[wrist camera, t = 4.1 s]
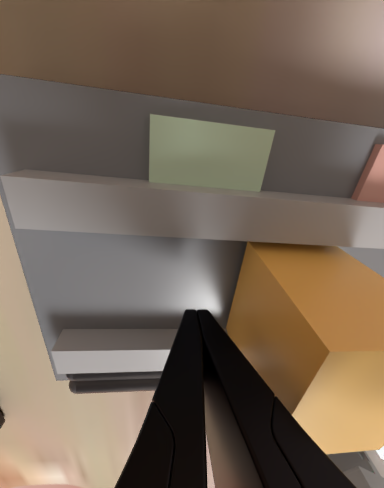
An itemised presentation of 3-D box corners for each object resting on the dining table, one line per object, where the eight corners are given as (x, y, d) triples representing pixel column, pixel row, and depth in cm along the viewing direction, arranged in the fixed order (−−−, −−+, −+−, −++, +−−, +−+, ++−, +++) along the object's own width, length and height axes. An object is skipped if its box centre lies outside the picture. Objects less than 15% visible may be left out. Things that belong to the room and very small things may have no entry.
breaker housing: (70, 348, 14) (45, 404, 11) (11, 84, 7) (-85, 53, 5) (368, 344, 17) (409, 387, 14) (505, 152, 10) (630, 158, 8)
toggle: (225, 327, 11) (264, 459, 6) (247, 240, 9) (330, 352, 4) (297, 327, 11) (378, 449, 7) (336, 245, 9) (490, 348, 5)
